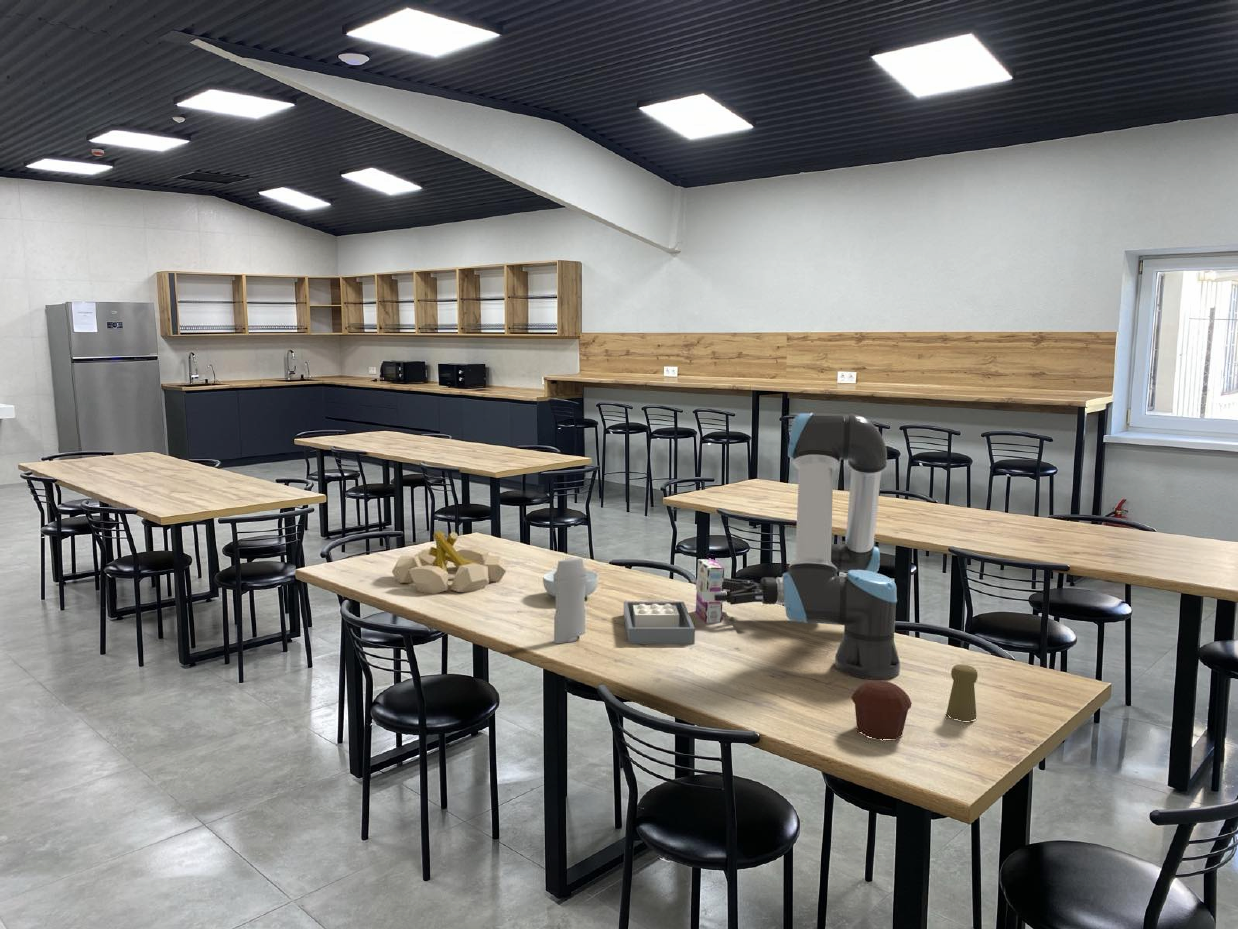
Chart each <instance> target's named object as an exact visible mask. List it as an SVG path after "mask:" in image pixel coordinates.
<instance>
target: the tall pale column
mask: <svg viewBox="0 0 1238 929" xmlns="http://www.w3.org/2000/svg"><path fill="white" fill-rule="evenodd" d="M556 570H557V571H556ZM556 570H555V571H556V572H555V573H554V579H553V580H554V581H553V584H554V588H555V589H556V591H555V596H554V597H555V612H554V618H553V623H554V624H553V625H554V626H553V628H554V629H553V630H554V631H553V632H554V633H553V637H554V638H553V643H554V644H556V645H557V644H561V645H562V644H564V643H575V642H577V641H579V640H580V636H583V635H585V634H586V606H585V600H586V599H585V595H584V594H585V593H584V592H585V586H584V585H585V583H586V582H587V570H588V569H587V568H586V566H585V564H584V559H583V557H574V556H573V557H567V558H565V559H563V560H558V562H557V567H556Z"/></svg>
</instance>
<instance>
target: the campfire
mask: <svg viewBox="0 0 1238 929" xmlns="http://www.w3.org/2000/svg"><path fill="white" fill-rule="evenodd" d="M432 537H433V538H434V539H435V546H436V547H434V546H430V548H426V549H423V550H421V551H419V552H418V553H416V554H415V555H402V556H400V557H399V558H398V559H397V562H396V564H395V565H394V567H393V568H392V570H391V572H392V575H393V577H394V578H395V579H396V581H397V583H399V584H400V583H401V584H412V583H413V584H414V586H415V588H416V590H417V592H418V593H425V594H432V595H433V594H439V593H442V592H445V591H448V589H449V572H448V571H447V570H448V569H447V565H448V563H449V562H450V563H453V565H454V567H456V569H457V570H456V573H455V575H454V577H453V580H452V584H451V586H450V590H451V591H454V592H458V593H469V592H472V591H473V592H474V591H477V590H481V589H483V588H484V587H486V586H488V585H489V584H490V582H491V583H493V582H494V583H500V582H501V581H502V579H503V577H504V575H505V574H506V572H507V570H508V565H507V563H506V561H504V559H503V557H502V556H501V555H489V554H490V551H488V550H485V549H482V548H480V547H472V546H467V547H465V548H461V549H459V550H456V549H455V548H454V545H455V543H456V541H457V540H458V539H459V535H458V534H457V532H454V531H451V533H449V535H448V536H447V537H445V533H444V532H441V530H438V531H436V532H435V533H434V534H433V535H432Z"/></svg>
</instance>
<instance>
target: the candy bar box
mask: <svg viewBox="0 0 1238 929" xmlns="http://www.w3.org/2000/svg"><path fill="white" fill-rule="evenodd" d="M696 575H697V576H696V580H697V590H696V594H695V595H696V596H695V597H696V599H695V612H696V614H697V615H698V616H699V617H700V619H702V621H703V622H704V623H706V624H712V623H713V624H715V623H722V620H723V603H724V602H702V591H707V592H724V589H723V585H724V578H725V567H723V566H722V565H721V564H720V563H718V562H717V561H716V560H715V559H713V558H712V559H711V558H701V559H697V574H696Z"/></svg>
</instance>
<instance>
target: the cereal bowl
mask: <svg viewBox="0 0 1238 929" xmlns="http://www.w3.org/2000/svg"><path fill="white" fill-rule="evenodd" d="M556 571H557V569H556V570H551V571H549V572H546V573H545V574H543V576H542V583H543V586H544V590H545V591H546V592H547V593H548V594H549V595H551V596H553V597H555V591H556V589H555V588H554V584H553V581H554V580H553V579H554V573H555V572H556ZM599 580H600V579H599V574H598V573H597V572H595V571H593V570H588V569H587V582H586V583H585V585H584V586H585V592H584V593H585V594H584V595H585V597H587V596H591V595H592V594H593V593H594V592H595V591H596V590H597V589H598V585H599ZM585 597H584V598H585Z"/></svg>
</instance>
